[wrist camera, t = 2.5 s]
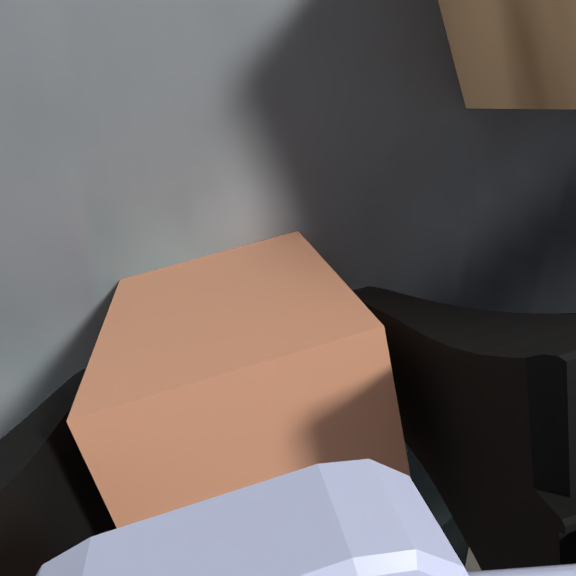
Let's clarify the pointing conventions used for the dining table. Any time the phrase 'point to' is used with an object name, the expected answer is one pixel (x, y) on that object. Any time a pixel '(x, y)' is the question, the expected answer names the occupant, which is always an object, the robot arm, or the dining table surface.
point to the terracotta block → (232, 379)
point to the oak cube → (513, 52)
